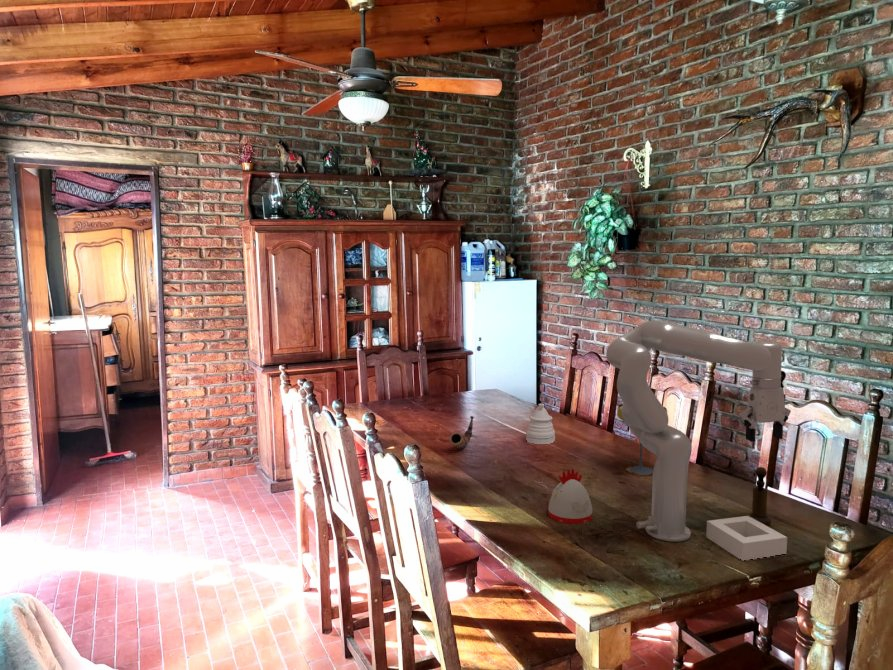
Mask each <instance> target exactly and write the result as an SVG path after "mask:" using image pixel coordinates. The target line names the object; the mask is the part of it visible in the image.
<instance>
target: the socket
mask: <svg viewBox="0 0 893 670" xmlns="http://www.w3.org/2000/svg"><path fill="white" fill-rule="evenodd" d="M705 533H706V534H705V535H706V536H705V537H706V538H707V539H708V540H710V541H711V542H713V543H714V544H716V545H717V546H719V547H720V548H722V549H723V550H725V551H726V552H728V553H729V554H731V555H733V556H734V557H736V558H738V559H739V560H740V559H741V561H742V562H745V561H744V560H746V561H751V560H750V559H753V560H758V559H757V558H760V559H764V558H763V557H767V558H771V557H770V556H774V557H776V556H775V555H781V554H786V555H787V545H788V536H785V535H784V534H782V533H780V532H778V531H776V529H773V528H771V527H770V528H769V527H768V526H766V525H764V524H762V523H760V522H758V521H757V520H755V519H753V518H751V517H749V516H747V515H745V516H743V515H742V516H735V517H726V518H720V519H719V518H718V519H712V520H711V519H710V520H706V532H705ZM781 556H782V555H781Z"/></svg>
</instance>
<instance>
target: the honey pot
mask: <svg viewBox="0 0 893 670" xmlns="http://www.w3.org/2000/svg"><path fill="white" fill-rule="evenodd" d="M529 419H530V420H529V423H528V425H527V429H525V430H526V431H525V441H526V440H527V441H528V442H530V443H534V444H550V443H553V442H554V441H555V442H556V431H555V429H554V425H553V423H552V422H553V421H552V420H553V417H552V416H551V415H550V414H549V413H548V411H547V409H546V408H545V404H544V403H538V407H536V409H534V411H533V413H532V415H530V417H529Z"/></svg>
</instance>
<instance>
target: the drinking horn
mask: <svg viewBox="0 0 893 670" xmlns="http://www.w3.org/2000/svg"><path fill="white" fill-rule="evenodd" d="M469 418H470V422H469V425H468V427H467V430H466V431H465V432H464V435H462V434H461V433H460V432H457V431H456V432H453V433H451V435H450V436H449V442H450V443H451V444H452V445H453V446H454V447H456V448H457V449H459V450H460V448H461V449H464V448H466V446H467V445H468V444H469V443H470V440H471V438H472V437H473V436H472V435H473V421H474V419H475V417H474V416H473V415H472V416H469Z"/></svg>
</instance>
